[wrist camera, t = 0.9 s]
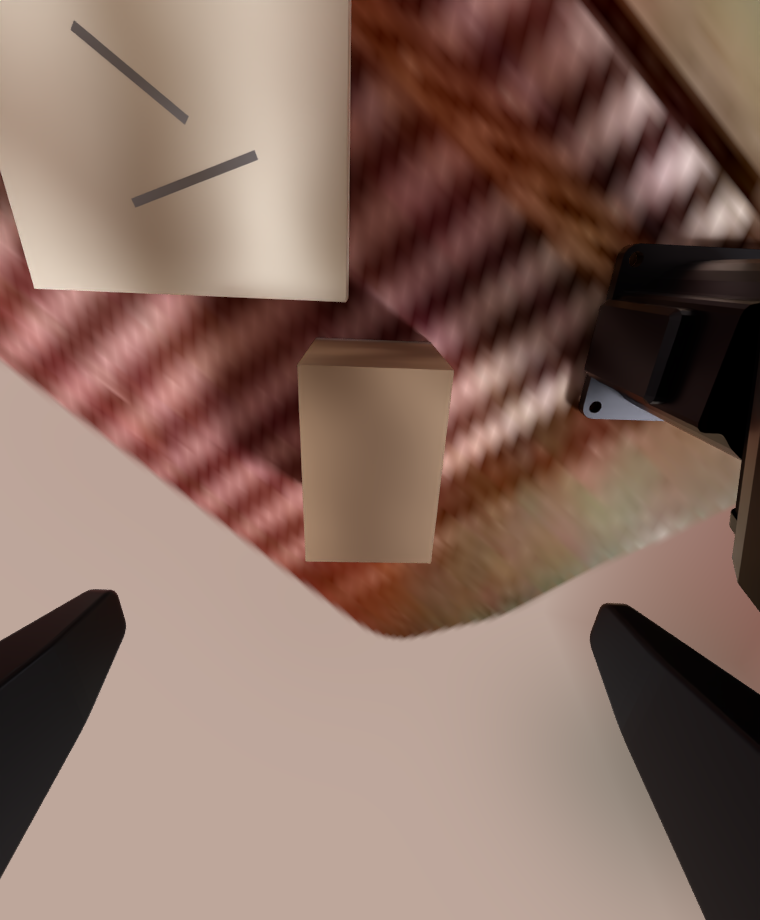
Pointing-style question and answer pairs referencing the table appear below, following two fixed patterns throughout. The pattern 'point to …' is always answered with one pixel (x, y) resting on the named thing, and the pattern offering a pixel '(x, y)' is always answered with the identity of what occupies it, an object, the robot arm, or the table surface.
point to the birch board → (179, 145)
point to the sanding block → (372, 448)
